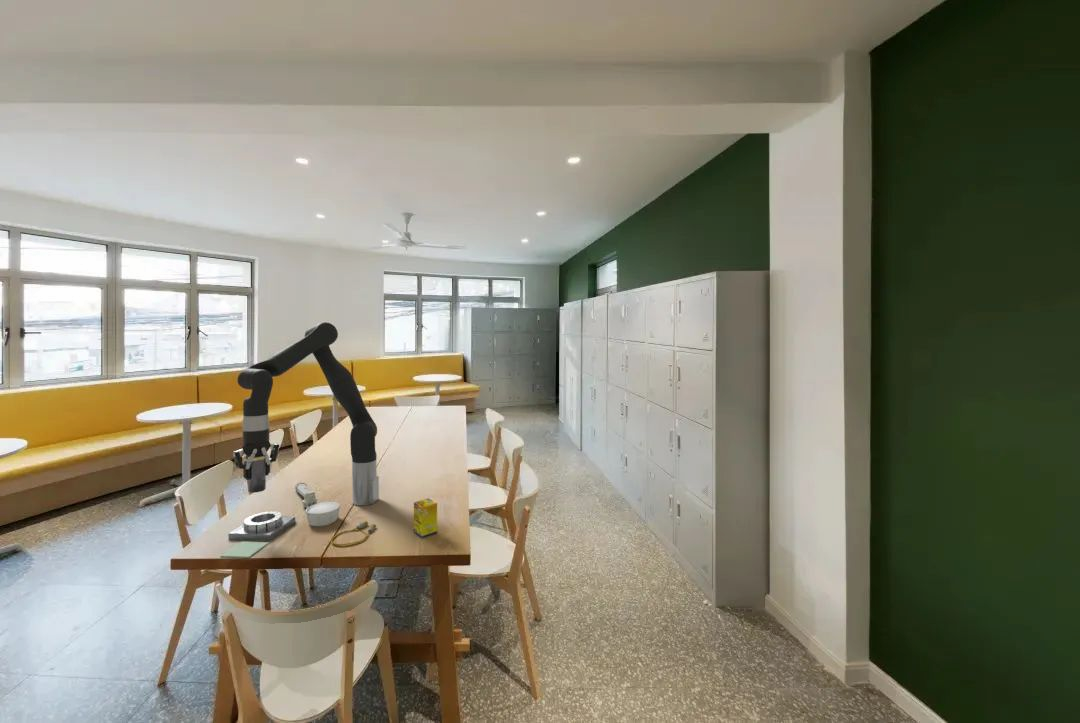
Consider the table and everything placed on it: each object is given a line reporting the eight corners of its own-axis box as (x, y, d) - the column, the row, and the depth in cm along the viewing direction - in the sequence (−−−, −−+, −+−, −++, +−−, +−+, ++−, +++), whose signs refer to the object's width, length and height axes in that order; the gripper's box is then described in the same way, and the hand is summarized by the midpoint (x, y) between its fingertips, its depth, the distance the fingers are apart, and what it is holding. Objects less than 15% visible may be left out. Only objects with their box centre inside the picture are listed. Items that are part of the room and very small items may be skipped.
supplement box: (413, 532, 148) (413, 502, 147) (428, 527, 152) (428, 497, 152) (421, 538, 144) (421, 507, 143) (437, 533, 148) (437, 502, 147)
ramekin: (303, 519, 157) (303, 505, 157) (336, 512, 164) (336, 499, 164) (308, 531, 148) (308, 516, 148) (343, 522, 155) (343, 508, 155)
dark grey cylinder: (261, 485, 149) (261, 452, 148) (268, 489, 146) (268, 455, 145) (245, 490, 144) (245, 455, 144) (252, 493, 142) (252, 458, 141)
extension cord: (385, 535, 147) (385, 529, 147) (339, 551, 135) (339, 545, 135) (369, 524, 155) (368, 519, 155) (323, 539, 143) (323, 533, 143)
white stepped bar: (306, 480, 188) (318, 489, 168) (307, 495, 187) (319, 506, 168) (293, 483, 184) (303, 492, 165) (293, 498, 184) (304, 509, 165)
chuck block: (295, 522, 155) (295, 510, 155) (269, 540, 141) (269, 527, 141) (257, 520, 155) (257, 509, 155) (228, 539, 142) (228, 526, 141)
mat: (268, 543, 139) (268, 542, 139) (249, 557, 130) (249, 556, 130) (241, 542, 139) (241, 541, 139) (220, 556, 130) (220, 555, 130)
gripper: (273, 423, 152) (274, 469, 153) (226, 429, 140) (227, 480, 141) (284, 425, 148) (284, 474, 149) (236, 433, 136) (237, 485, 137)
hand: (256, 477), depth 145 cm, fingers closed on dark grey cylinder, 5 cm apart
